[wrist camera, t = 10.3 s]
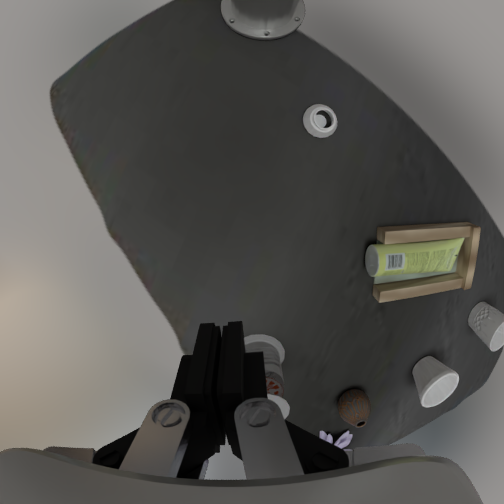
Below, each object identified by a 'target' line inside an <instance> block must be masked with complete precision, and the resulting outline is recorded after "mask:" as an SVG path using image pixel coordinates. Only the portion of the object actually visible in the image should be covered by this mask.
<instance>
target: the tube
mask: <svg viewBox="0 0 504 504" xmlns="http://www.w3.org/2000/svg"><path fill="white" fill-rule="evenodd" d="M464 239H465V238H455V239H446V240H436V241H423V242H408V243H397V244H373V245H370V246H369V247H368V248H367V251H366V255H365V265H366V269H367V272H368V273H369V275H370V276H372V277H376V276H388V275H400V274H413V273H426V272H444V271H451V269H452V266H453V264H454V262H455V259H456V257H457V255H458V253H459V250H460V248H461V245H462V243H463V241H464Z"/></svg>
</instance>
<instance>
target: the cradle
mask: <svg viewBox="0 0 504 504" xmlns="http://www.w3.org/2000/svg"><path fill="white" fill-rule="evenodd" d="M480 229H481V227H479V226H476V225H474V224H471V223H469V222H458V223H438V224H420V225H403V226H386V227H377V243H376V244H397V243H408V242H423V241H436V240H446V239H455V238H465V239H464V241H463V243H462V245H461V248H460V250H459V253H458V255H457V257H456V259H455V262H454V264H453V266H452V269H451V271H444V272H426V273H413V274H400V275H388V276H376V277H374V284H373V294H372V295H373V296H374V297H375V298H376V300H377V301H378V302H379V303H380V302H387V301H393V300H399V299H405V298H410V297H416V296H422V295H427V294H432V293H437V292H442V291H447V290H452V289H457V288H462V289H464V290H465V289H470V288H471V285H472V280H473V275H474V270H475V264H476V258H477V252H478V245H479V237H480Z"/></svg>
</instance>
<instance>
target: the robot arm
mask: <svg viewBox="0 0 504 504" xmlns="http://www.w3.org/2000/svg"><path fill="white" fill-rule="evenodd" d="M221 13H222V16H223V19H224V21H225V22H226V24H227V25H228V26H229V27H230V28H231V29H232V30H234V31H235V32H236V33H238V34H240V35H242V36H245V37H248V38H251V39H257V40H273V39H279V38H282V37H285V36H287V35H289V34H291V33H292V32H294V31H295V30H296V29H297V28H298V27H299V26H300V25H301V23H302V21H303V19H304V16H305V5H304V2H303V0H222V2H221ZM297 21H298V22H297ZM231 22H234V23H231ZM265 35H268V36H265ZM226 436H227V439H228V443H229V445H231V448H232V452H233V454H234V455H235V456H237V457H238V458H239V459H241V460H242V461H243V464H244V469H245V473H246V478H247V480H204V477H205V474H206V470H207V467H208V458H210V457H211V456H213V455H214V454H215V453H219V452H220V445H225V437H226ZM0 504H483V503H482V501H481V499H480V497H479V495H478V493H477V491H476V489H475V487H474V486H473V484H472V482H471V481H470V479H469V478H468V476H467V475H466V474H465V472H464V471H463V470H462V469H461V468H460V467H459V466H458V465H457V464H456V463H455V462H453V461H452V460H450V459H447V458H444V457H438V456H426V455H425V452H424V450H423V449H422V448H421V447H420V446H418V445H415V444H408V443H406V444H398V445H388V446H376V447H359V448H354V449H353V450H347V451H344V450H343V449H341V448H339V447H338V446H336V445H334V444H331V443H329V442H327V441H325V440H323V439H321V438H319V437H317V436H315V435H313V434H311V433H309V432H307V431H305V430H303V429H301V428H300V427H298V426H296V425H294V424H292V423H290V422H288V421H287V420H285V419H284V417H283V415H282V412H281V409H280V407H279V406H278V404H276V403H275V402H274V401H272V400H269V399H268V396H267V386H266V375H265V365H264V354H263V351H260V352H247V353H246V350H245V342H244V333H243V324H242V321H237V322H228V326H223V332H222V337H221V331H220V326H215V324H214V323H203V324H200V326H199V330H198V335H197V339H196V343H195V347H194V351H193V355H183V356H182V358H181V361H180V365H179V369H178V372H177V376H176V380H175V383H174V387H173V391H172V395H171V398H170V399H168V400H163V401H161V402H158V403H156V404H155V405H154V406H152V408H151V409H150V410H149V411H148V413H147V415H146V417H145V419H144V421H143V423H142V425H141V427H140V428H138V429H136V430H134V431H133V432H131V433H129V434H127V435H125V436H123V437H122V438H119V439H117V440H115V441H114V442H112V443H110V444H108V445H106V446H104V447H102V448H100V449H99V450H98V451H95V450H94V449H93V448H68V447H48V448H46V449H44V450H38V449H30V448H12V449H6V450H3V451H1V452H0Z"/></svg>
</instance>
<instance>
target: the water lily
mask: <svg viewBox="0 0 504 504" xmlns="http://www.w3.org/2000/svg"><path fill="white" fill-rule="evenodd" d="M320 438H321V439H323V440H325V441H327V442H329V443H331V444H332V443H333V438H332V436H331V435H330V434H328V436H327V434H326V433H325V432H324V431H320ZM351 438H352V434H349V431H347V432H346V433H344V434H343V435H342V436H341V437H340V438H339V439H338V440H337V441H336V442H335V443H334V445H336V446H338V447H339V448H341V449H342V448H344V447H346V446H347V445H348V444H349V443H350V440H351ZM344 451H347V450H346V449H344Z"/></svg>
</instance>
